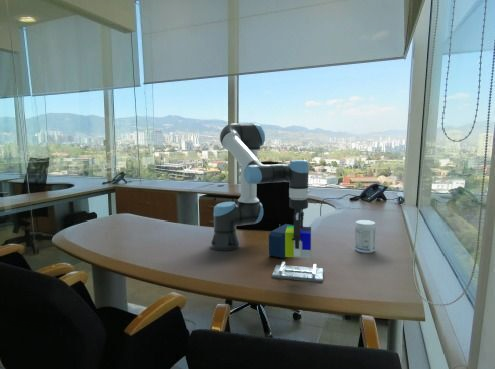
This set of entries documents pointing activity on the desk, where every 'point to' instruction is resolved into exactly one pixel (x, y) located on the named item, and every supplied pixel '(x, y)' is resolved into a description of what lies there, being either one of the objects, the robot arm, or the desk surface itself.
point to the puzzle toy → (305, 242)
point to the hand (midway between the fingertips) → (298, 251)
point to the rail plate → (298, 273)
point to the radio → (277, 241)
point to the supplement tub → (365, 236)
